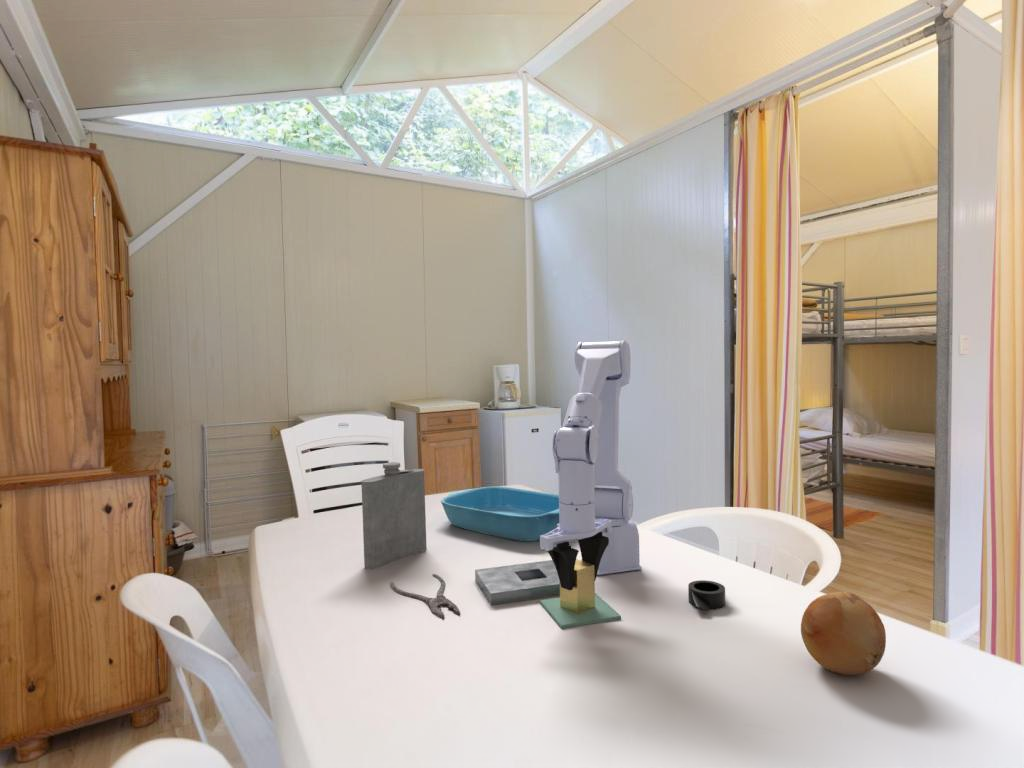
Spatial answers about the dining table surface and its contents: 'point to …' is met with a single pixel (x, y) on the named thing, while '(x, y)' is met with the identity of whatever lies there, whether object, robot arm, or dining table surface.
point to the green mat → (571, 619)
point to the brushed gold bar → (580, 589)
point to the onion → (843, 633)
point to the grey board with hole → (518, 582)
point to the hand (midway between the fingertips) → (578, 584)
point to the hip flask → (393, 515)
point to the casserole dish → (503, 512)
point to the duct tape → (706, 595)
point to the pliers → (433, 599)
